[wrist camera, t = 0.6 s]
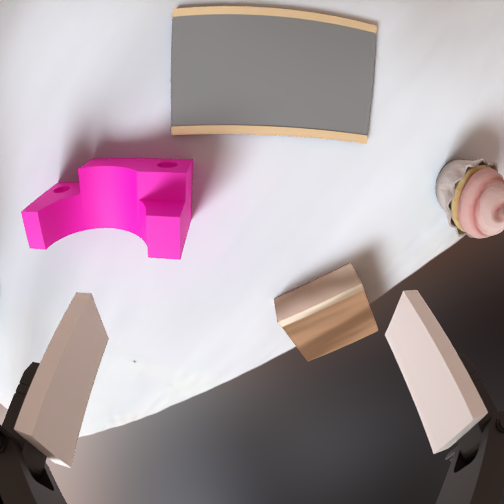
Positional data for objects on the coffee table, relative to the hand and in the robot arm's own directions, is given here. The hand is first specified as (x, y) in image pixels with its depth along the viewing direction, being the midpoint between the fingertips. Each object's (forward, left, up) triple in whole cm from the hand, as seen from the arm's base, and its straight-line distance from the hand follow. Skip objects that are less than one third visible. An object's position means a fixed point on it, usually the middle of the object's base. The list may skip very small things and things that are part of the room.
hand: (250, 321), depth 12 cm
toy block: (-12, -1, -19) cm, 23 cm away
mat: (+3, +10, -19) cm, 22 cm away
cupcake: (+25, +1, -19) cm, 31 cm away
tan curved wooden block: (+13, -20, -17) cm, 30 cm away
